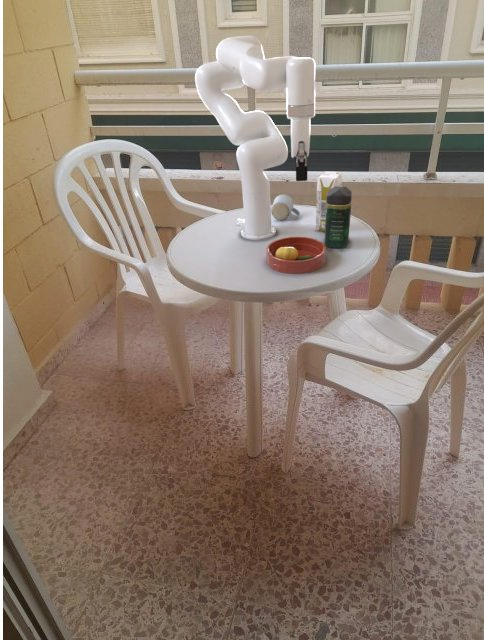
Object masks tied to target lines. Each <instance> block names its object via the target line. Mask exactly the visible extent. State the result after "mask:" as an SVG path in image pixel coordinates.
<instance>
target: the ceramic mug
mask: <svg viewBox="0 0 484 640" xmlns="http://www.w3.org/2000/svg"><path fill="white" fill-rule="evenodd" d="M271 205H272V206H271V216H272V217H273V218H274V219H275V220H277V221H284V220H286V219H287V218H290V219H293V220H297V219H299V218H300V216H301V213H300V211H299V210H298V208H297V209H296V207H294V201H293V199H292V198H291V197H290V196H289V195H287V194H279V195H277V196H276V197H275V198H274V200H273V203H272V204H271ZM292 212H293V213H294V214H293V213H292Z"/></svg>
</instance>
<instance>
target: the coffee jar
mask: <svg viewBox="0 0 484 640" xmlns="http://www.w3.org/2000/svg"><path fill="white" fill-rule="evenodd" d="M352 196H353V193H352V190H351V189H349V188H348V187H347V186H342V187H339V186H335V187H334V188H332V189H330V190H329V191H328V193H327V196H326V197H327V198H326V220H325V231H324V242H323V244H324V245H325V247H326V248H327V249H333V250H340V249H346V248H347V246H348V244H349V239H350V238H349V237H350V227H351V226H350V225H351V213H352V198H353V197H352Z"/></svg>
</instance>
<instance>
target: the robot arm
mask: <svg viewBox="0 0 484 640" xmlns="http://www.w3.org/2000/svg"><path fill="white" fill-rule="evenodd" d="M215 50H216V51H215V56H216V60H215V61H209V62H205V63H203V64H202V65H200V66H199V67H198V68H197V69H196V71H195V75H194V83H195V87H196V91H197V94H198V96H199V99H201V101H202V103H203V104H204V106H205V107H206V108H207V110H208V111H209V112H210V113H211V114H212V115H213V116H214V118H215V119H216V121H217V122H218V124H219V126H220V128H221V130H222V131H223V133H224V134H225V136H226V137H227V139H228V140H229V142H230V143H232V145H234V146H238V147H237V150H236V155H235V156H236V157H235V158H236V162H237V165H238V170H239V175H240V182H241V193H242V207H243V218H237V219H236V223H235V226H236V227H241V230H240V235H241V237H242V238H244V239H247V240H255V241H256V240H257V241H259V240H265V239H269V238H272V237H274V236H275V235H276V233H277V229H276V227H275V226H274V225H272V212H271V208H272V206H271V205H272V204H271V185H270V180H269V178H268V177H267V175H266V174H265V173H264V171H265V170H267V169H270V168H274V167H278V166H281V165H283V164H284V163H286V161H287V160H288V156H289V149H288V145H287V143H286V141H285V139H284V137H283V136H282V133H281V132H280V131H279V129H278V127H277V126H276V125H275V123H274V122H273V120H272V118H271V116H269V114H268V113H266V112H265V111H262V110H252V111H243V109H241V108H240V106H239V104H238V102H237V101H236V100H235V99H234V98H233V97H232V96H230V95H229V94H228V93H226V92H224V91H227V90H234V89H240V88H242V87H244V86H247V87H249V88H251V89H253V90H255V91H258V92H271V91H277V90H278V91H279V90H283V89H286V119H288V120H290V154H291V155H290V156H291V158H292V159H294V158H295V181H296V182H307V181H308V164H307V160H308V159H307V158H308V157H309V156H310V148H311V147H310V146H311V119H313V118H315V117H316V62H315V60H314V58H312V57H306V56H305V57H298V56H295V55H285V56H278V57H269V58H266V57H265V53H264V48H263V45H262V43H261V41H260V40H259V39H258V38H257V37H256V36H255V35H254V36H253V35H241V36H231V37H227V38H224V39H222V40H221V41H220V42H219V43H218V45H217V47H216V49H215Z"/></svg>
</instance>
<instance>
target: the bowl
mask: <svg viewBox="0 0 484 640" xmlns="http://www.w3.org/2000/svg"><path fill="white" fill-rule="evenodd" d="M281 247H294V248H295V249H296V250H297V252H298V256H297V257H302V256H306V255H310V256H315V257H314V258H311V259H307V260H300V261H299V260H293V261H289V260H283V259H279V258H276V251H277V250H278V249H279V248H281ZM265 252H266V264H267V265H268V267H269V268H271V269H272V270H274V271H276V272H278V273H283V274H290V275H291V274H292V275H297V274H298V275H299V274H300V275H301V274H307V273H312V272H314V271H317V270H319V269H320V268H323V266H324V265H325V264H326V259H327V247H326V246H325V244H324V242H322V241H321V240H319V239H317V238H314V237H308V236H300V235H299V236H297V235H296V236H287V237H281V238H278V239H276V240H274V241H272V242H270V243H269V244H268V245H267V246H266V251H265Z"/></svg>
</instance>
